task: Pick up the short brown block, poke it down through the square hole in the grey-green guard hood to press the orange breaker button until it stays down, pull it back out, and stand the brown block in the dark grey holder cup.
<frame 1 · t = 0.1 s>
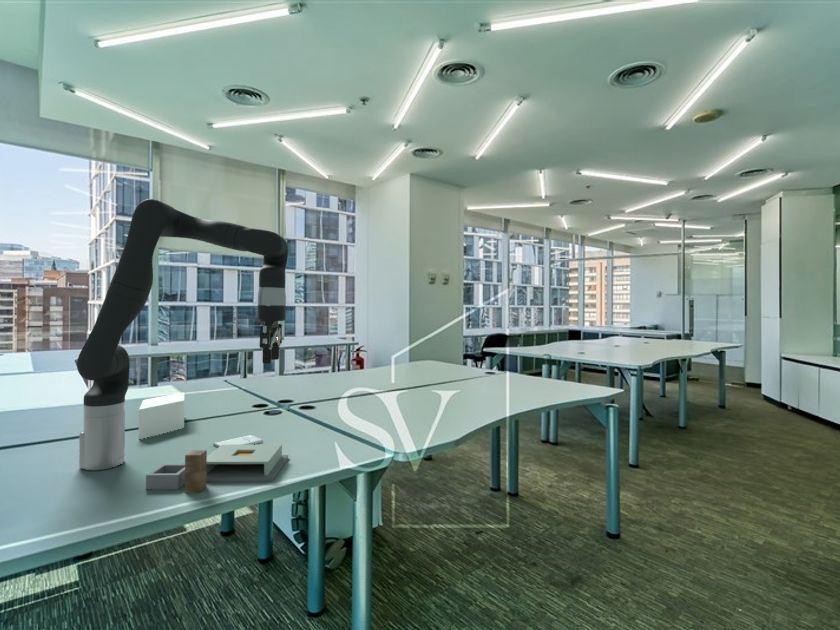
hand: (271, 361, 122), 29 cm above the table, tool pointing down, fingers open, 8 cm apart
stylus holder: (169, 483, 108), on the table
brown block: (195, 489, 104), on the table
breaker button: (243, 458, 118), point 3 cm above the table, slide at 0.0 cm
breaker panel: (243, 469, 118), on the table
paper: (163, 428, 156), on the table
external hard drive: (238, 446, 139), on the table
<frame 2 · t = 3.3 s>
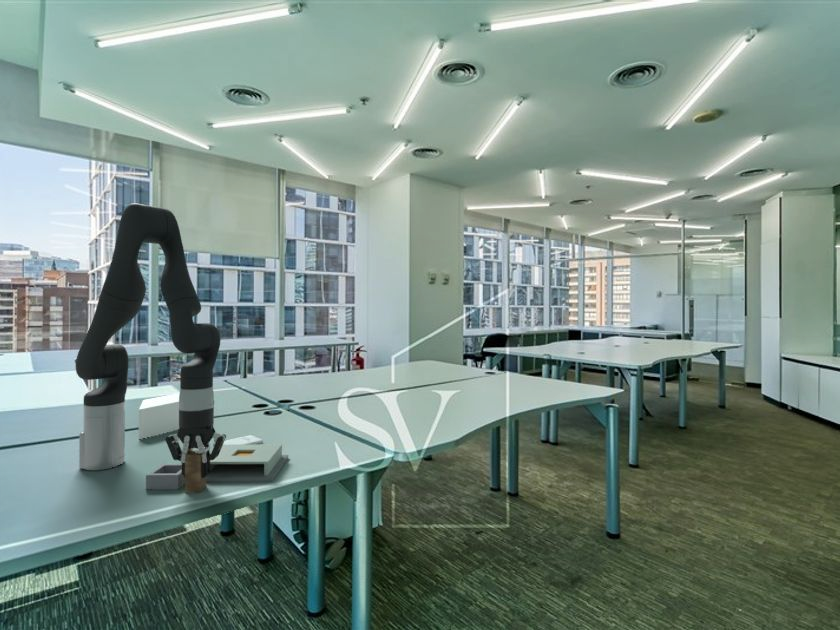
hand: (195, 476, 104), 3 cm above the table, tool pointing down, fingers closed on brown block, 3 cm apart
brown block: (195, 489, 104), on the table, touching gripper
everything else where it was.
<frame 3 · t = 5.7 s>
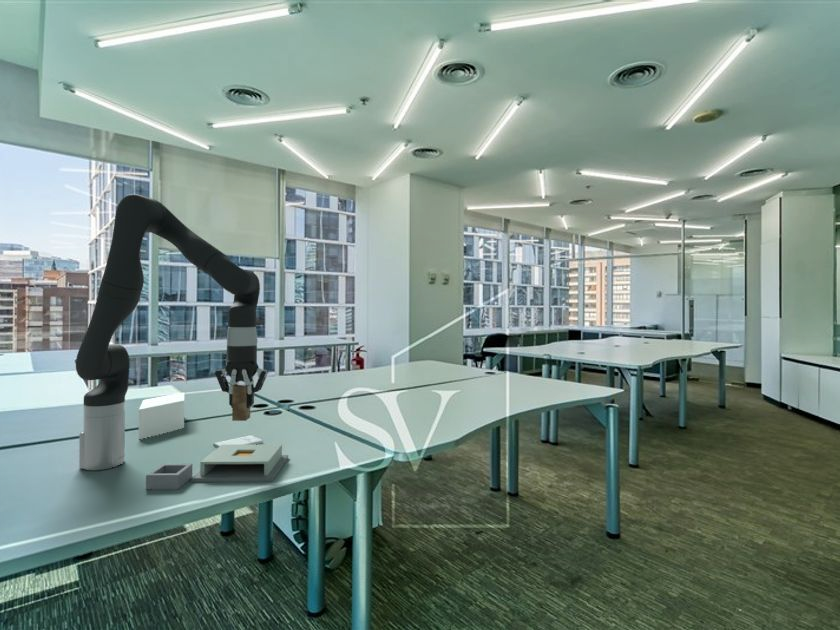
hand: (241, 407, 116), 17 cm above the table, tool pointing down, fingers closed on brown block, 3 cm apart
brown block: (241, 419, 116), point 14 cm above the table, touching gripper
everything else where it was.
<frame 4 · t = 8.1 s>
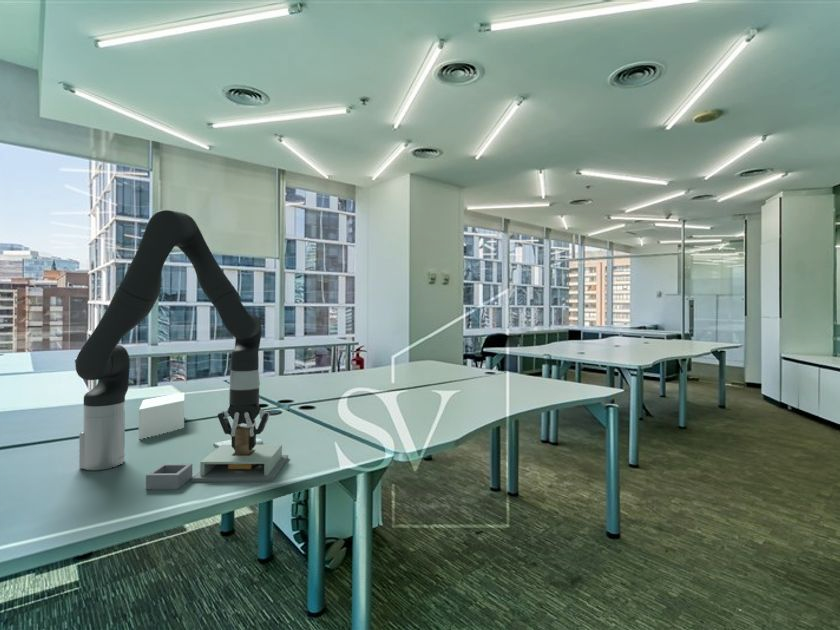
hand: (243, 448, 118), 6 cm above the table, tool pointing down, fingers closed on brown block, 3 cm apart
brown block: (243, 460, 118), point 2 cm above the table, touching breaker button, gripper
breaker button: (243, 462, 118), point 2 cm above the table, slide at 1.3 cm, touching brown block
everything else where it was.
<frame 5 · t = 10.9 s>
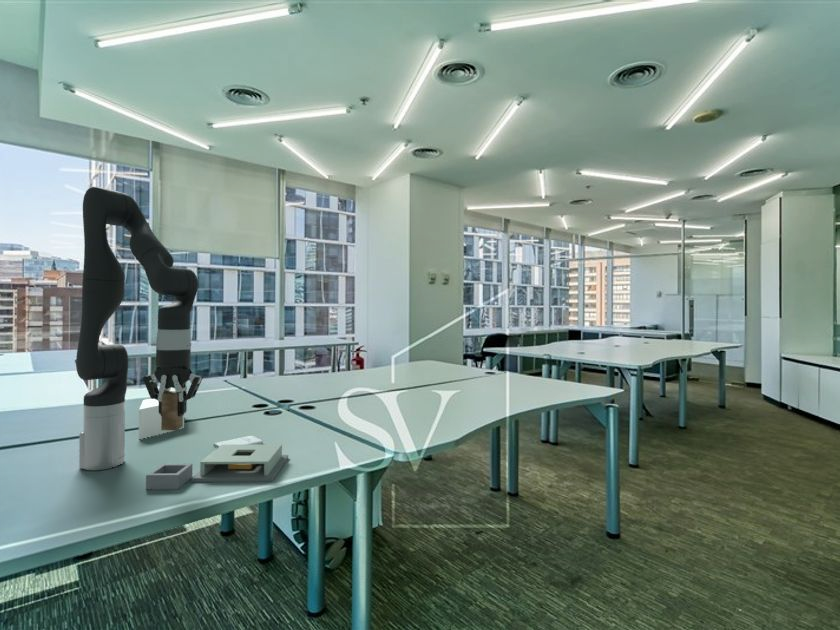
hand: (172, 415, 108), 17 cm above the table, tool pointing down, fingers closed on brown block, 3 cm apart
brown block: (172, 428, 108), point 14 cm above the table, touching gripper
breaker button: (243, 462, 118), point 2 cm above the table, slide at 1.3 cm
everything else where it was.
when the fingers open (5 cm above the table, at t = 13.7 s): brown block stays where it is, resting on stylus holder.
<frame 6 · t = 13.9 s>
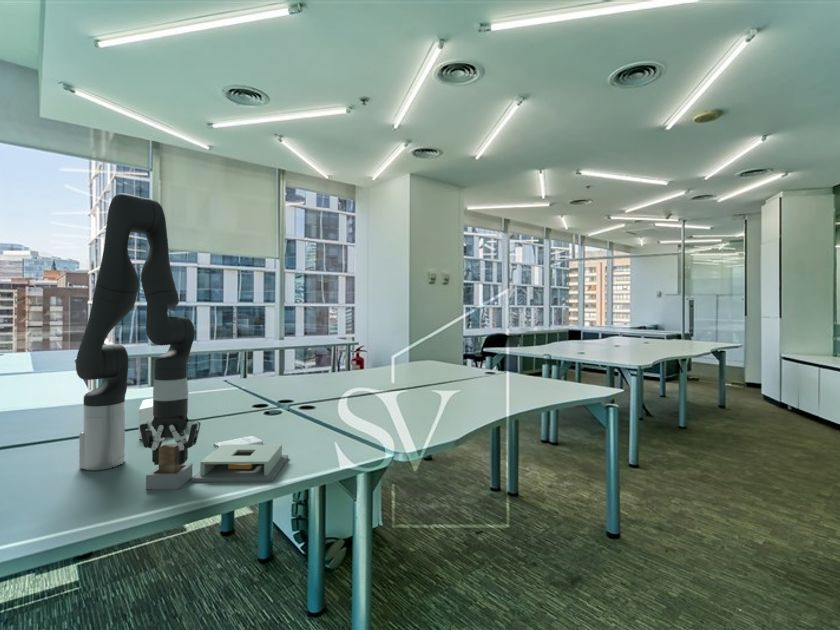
hand: (170, 463, 108), 5 cm above the table, tool pointing down, fingers open, 5 cm apart
brown block: (169, 481, 108), resting on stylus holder
everything else where it was.
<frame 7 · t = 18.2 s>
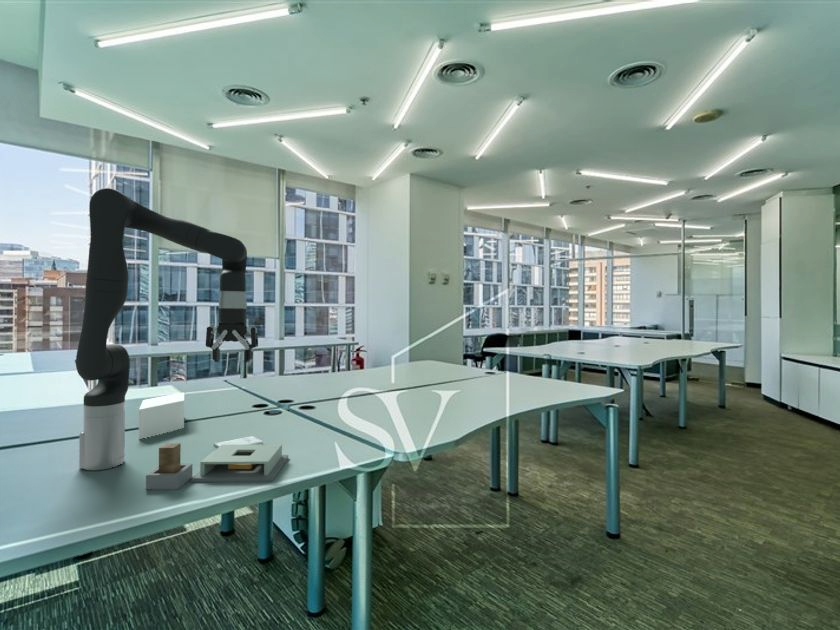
hand: (232, 362, 127), 28 cm above the table, tool pointing down, fingers open, 8 cm apart
at the end: breaker button slide at 1.3 cm; brown block 0.1 cm off-centre on the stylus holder, point 0.5 cm above the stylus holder's base; the gripper is holding nothing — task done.
